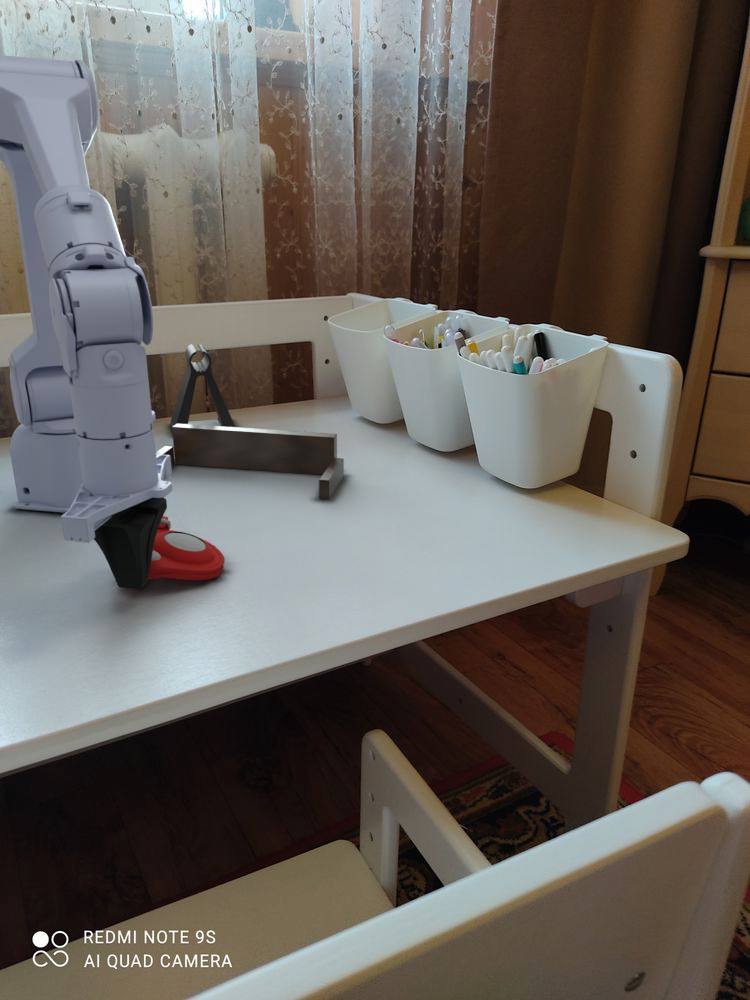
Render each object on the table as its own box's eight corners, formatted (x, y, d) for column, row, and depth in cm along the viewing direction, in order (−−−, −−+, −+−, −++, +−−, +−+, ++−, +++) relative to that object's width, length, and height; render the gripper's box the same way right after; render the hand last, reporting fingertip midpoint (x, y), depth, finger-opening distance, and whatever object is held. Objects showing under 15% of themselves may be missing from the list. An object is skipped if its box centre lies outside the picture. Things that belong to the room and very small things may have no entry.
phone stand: (230, 420, 118) (226, 342, 114) (236, 431, 113) (231, 349, 108) (170, 425, 116) (163, 344, 111) (173, 436, 110) (166, 352, 106)
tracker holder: (249, 553, 72) (171, 570, 64) (235, 593, 74) (158, 615, 65) (161, 498, 78) (78, 506, 69) (149, 537, 79) (67, 550, 70)
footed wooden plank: (138, 485, 92) (133, 445, 90) (171, 459, 101) (168, 422, 99) (329, 499, 88) (328, 458, 87) (346, 472, 97) (346, 434, 95)
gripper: (118, 462, 52) (138, 634, 58) (199, 408, 66) (210, 552, 71) (23, 455, 54) (51, 625, 59) (122, 403, 67) (138, 545, 72)
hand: (133, 584), depth 65 cm, fingers closed
